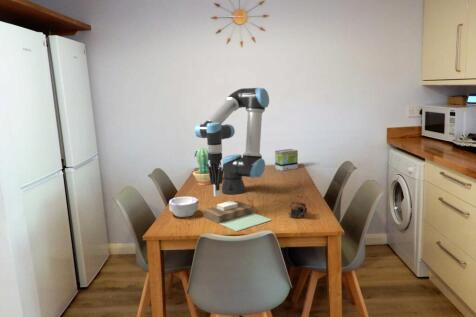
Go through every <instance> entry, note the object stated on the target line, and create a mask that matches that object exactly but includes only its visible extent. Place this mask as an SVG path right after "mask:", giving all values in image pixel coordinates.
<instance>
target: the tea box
mask: <svg viewBox="0 0 476 317" xmlns="http://www.w3.org/2000/svg"><path fill="white" fill-rule="evenodd" d="M274 154H275V155H274V168H275V169H276V170H277V171H281V172H284V171H288V170H297V169H298V167H299V166H298V165H299V164H298V163H299V161H298V160H299V158H298V156H299V155H298V154H299V153H298V149H292V148H287V149H279V150H275V151H274ZM296 168H297V169H296Z"/></svg>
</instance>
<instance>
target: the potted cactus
mask: <svg viewBox="0 0 476 317" xmlns="http://www.w3.org/2000/svg"><path fill="white" fill-rule="evenodd" d="M208 153H209V152H208V148H206V147H203V146H202V147H199V148H197V149H195V151H194V153H193V157H194V159H195V157H196V161H197V164H198V170H195V171H193V172H192V175H193V177H194V179H195V180H196V182H197V185H199V186H206V185H208V186H209V185H211V184H212V182H210V176H209V170H208V167H207V164H209V162H210V160H208Z"/></svg>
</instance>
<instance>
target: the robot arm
mask: <svg viewBox="0 0 476 317" xmlns="http://www.w3.org/2000/svg"><path fill="white" fill-rule="evenodd" d="M269 104H270V96H269V93H268V91H267V89H265V88H263V87H250V88H249V87H248V88H240V89H237V90H235V91H233V92H231V93H230V94H229V95H228V96H227V97H226V98H225V99H224V102H223V104H221V105H220V106H219V108H217V109H216V110H215V111H214V113H212V115H210V117H209V118H208V119H207V120H206V121H204V122H203V123H200V124H196V126H194V134H195V136H196V137H197V138H200V139H207V148H206V149H207V151H208V152H209V153H208V160H209V162H208V164H207V167H208V170H209V176H210V182H211V184H212V188H213V197H215V198H216V197H220V196H221V195H220V191H221V193H223V194H225V195H238V194H243V193H245V192H246V186H245V183H244V180H243V177H245V178H260V177H261V176H262V175H263V173H264V172H265V169H266V161H265V159H264V158H262V157H263V155H262V154H261V151H260V149H261V139H262V137H261V136H262V122H263V121H262V120H263V118H262V117H263V114H264V112H265V111H266V108H269ZM242 108H245V110H246V112H247V122H246V125H247V126H246V139H245V152H244V153H243V154H240V153H239V154H236V153H235V154H230V155H226V156H224V157H223V153H222V152H223V145H222V141H223V140H227V139H230V138H232V137H234V135H235V133H236V132H235V127H234V126H233V125H232V124H229V123H228V124H223V123H224V122H225V121H226V120H227V119H228V118H229V117H230V116H231V115H232V113H234V112H236V111H238V109H242ZM220 184H222V185H221V188H220ZM220 189H221V190H220Z"/></svg>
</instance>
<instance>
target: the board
mask: <svg viewBox="0 0 476 317" xmlns="http://www.w3.org/2000/svg"><path fill="white" fill-rule="evenodd" d="M234 202H235V203H238V207H236V208H232V209H229V210H225V211H223V210H220V209H218V208H217V205H216V206H211V207H209V208H204V209H202V210H203V212H202V213H203V214H202V215H203V218H205V219H207V220H209V221H211V222H213V223H216V224H218V225H220V224H219V223H222V222H225V221H228V220H232V219H235V218H239V217H242V216H245V215H249V214H252V213H255V209H254V205H250V204H248V203H244V202H241V201H239V200H236V201H234Z"/></svg>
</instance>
